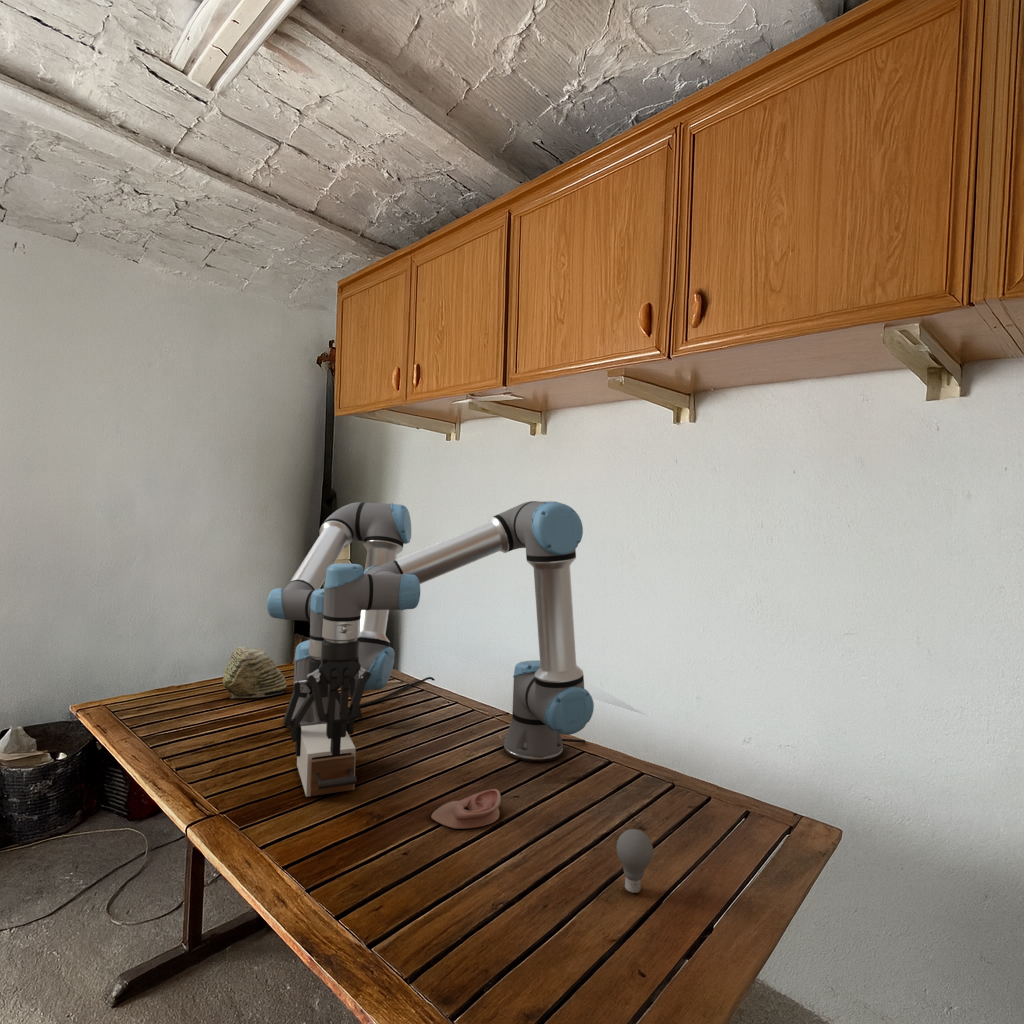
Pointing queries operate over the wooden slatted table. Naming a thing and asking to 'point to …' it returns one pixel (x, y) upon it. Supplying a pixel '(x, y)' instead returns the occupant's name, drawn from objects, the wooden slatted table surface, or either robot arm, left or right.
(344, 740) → the cabinet
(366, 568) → the left robot arm
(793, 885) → the wooden slatted table surface
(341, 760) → the drawer
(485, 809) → the anatomical model
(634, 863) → the light bulb
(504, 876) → the wooden slatted table surface
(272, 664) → the fossil
